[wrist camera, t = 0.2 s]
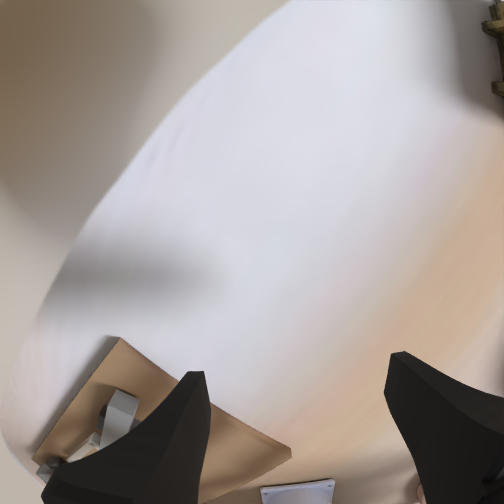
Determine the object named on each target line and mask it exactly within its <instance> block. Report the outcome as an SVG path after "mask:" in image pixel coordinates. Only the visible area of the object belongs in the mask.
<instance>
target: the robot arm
mask: <svg viewBox="0 0 504 504" xmlns="http://www.w3.org/2000/svg"><path fill="white" fill-rule="evenodd" d="M384 395H385V398H386V402H387V405H388V407H389V410H390V413H391V415H392V417H393V419H394V421H395V423H396V425H397V427H398V429H399V431H400V433H401V435H402V437H403V439H404V441H405V443H406V445H407V447H408V449H409V451H410V453H411V455H412V457H413V460H414V462H415V465H416V468H417V471H418V475H419V478H420V481H421V485H422V488H423V492H424V496H425V501H426V504H504V398H503V397H499V396H495V395H492V394H488V393H485V392H482V391H480V390H477V389H475V388H472V387H470V386H467V385H465V384H463V383H461V382H459V381H457V380H455V379H453V378H451V377H449V376H447V375H445V374H443V373H442V372H440V371H438V370H436V369H435V368H433V367H431V366H430V365H428V364H426V363H425V362H423V361H421V360H420V359H418V358H416V357H415V356H413V355H411V354H409V353H407V352H405V351H403V352H397V353H392V354H391V357H390V363H389V368H388V374H387V379H386V384H385V389H384ZM210 425H211V405H210V400H209V395H208V390H207V385H206V380H205V374H204V371H188V372H187V373H186V374H185V375H184V377H183V378H182V379H181V380H180V381H179V383H178V384H177V385H176V386H175V387H174V389H173V390H172V391H171V392H170V393H169V394H168V396H167V397H166V398H165V399H164V400H163V401H162V402H161V403H160V404H159V405H158V407H157V408H156V409H155V410H153V411H152V412H151V413H150V414H149V415H148V416H147V417H146V418H145V419H144V420H143V421H142V422H141V423H140V424H138V425H137V426H136V427H135V428H133V429H132V430H131V431H129V432H128V433H127V434H125V435H124V436H122V437H121V438H119V439H118V440H116V441H114V442H113V443H111V444H110V445H108V446H106V447H104V448H103V449H101V450H99V451H97V452H95V453H93V454H90V455H88V456H86V457H84V458H81V459H79V460H76V461H73V462H70V463H67V464H64V465H61V466H58V467H56V468H55V470H54V471H53V473H52V475H51V477H50V479H49V481H48V482H47V484H46V486H45V488H44V490H43V492H42V494H41V498H42V500H43V502H44V504H198V494H199V484H200V477H201V472H202V468H203V463H204V458H205V454H206V449H207V444H208V439H209V434H210ZM334 486H335V481H334V479H329V480H323V481H316V482H310V483H302V484H294V485H285V486H274V487H263V488H261V489H260V492H261V497H262V502H263V504H331V503H332V498H333V492H334Z"/></svg>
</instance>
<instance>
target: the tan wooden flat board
mask: <svg viewBox="0 0 504 504" xmlns="http://www.w3.org/2000/svg"><path fill="white" fill-rule="evenodd" d="M178 383H179V381H177V380H176V379H175V378H173V377H172V376H170V375H169V374H168V373H166V372H165V371H163V370H162V369H161V368H159V367H158V366H157V365H155V364H154V363H153V362H151V361H150V360H149V359H147V358H146V357H145V356H143V355H142V354H141V353H140V352H138V351H137V350H136V349H134V348H133V347H132V346H131V345H129V344H128V343H127V342H126V341H124V340H123V339H122V338H120V339H119V340H118V342H117V343H116V344H115V345H114V347H113V348H112V349H111V351H110V352H109V353H108V354H107V356H106V357H105V358H104V360H103V361H102V362H101V364H100V365H99V366H98V367H97V369H96V370H95V371H94V373H93V374H92V375H91V377H90V378H89V379H88V381H87V382H86V383H85V385H84V386H83V387H82V389H81V390H80V391H79V393H78V394H77V395H76V397H75V398H74V399H73V401H72V402H71V403H70V405H69V406H68V408H67V409H66V410H65V412H64V413H63V414H62V416H61V417H60V419H59V420H58V421H57V423H56V424H55V426H54V427H53V428H52V430H51V431H50V433H49V434H48V436H47V437H46V438H45V440H44V441H43V443H42V444H41V446H40V447H39V448H38V450H37V451H36V453H35V454H34V456H33V458H32V460H33V461H34V462H36V463H37V464H38V465H40V467H39V469H38V471H37V472H36V475H38V476H39V477H40V478H41V479H42V480H43V481H44V482H45V483H46V484H47V482H48V481H49V479H50V477H51V475H52V473H53V471H54V470H55V468H56V467H58V466H61V465H64V464H67V463H70V462H73V461H76V460H79V459H81V458H84V457H86V456H88V455H90V454H93V453H95V452H97V451H99V450H101V449H103V448H104V447H106V446H108V445H110V444H111V443H113V442H114V441H116V440H118V439H119V438H121V437H122V436H124V435H125V434H127V433H128V432H129V431H131V430H132V429H133V428H135V427H136V426H137V425H138V424H140V423H141V422H142V421H143V420H144V419H145V418H146V417H147V416H148V415H149V414H150V413H151V412H152V411H153V410H155V409H156V408H157V407H158V405H159V404H160V403H161V402H162V401H163V400H164V399H165V398H166V397H167V396H168V394H169V393H170V392H171V391H172V390H173V389H174V387H175V386H176V385H177V384H178ZM210 405H211V425H210V434H209V439H208V444H207V449H206V454H205V458H204V463H203V468H202V472H201V477H200V484H199V494H198V504H204V503H207V502H209V501H211V500H213V499H215V498H218V497H220V496H222V495H224V494H226V493H228V492H230V491H232V490H234V489H236V488H238V487H240V486H242V485H244V484H246V483H248V482H250V481H252V480H254V479H256V478H258V477H259V476H261V475H263V474H265V473H267V472H268V471H270V470H272V469H274V468H275V467H277V466H279V465H280V464H282V463H284V462H285V461H287V460H289V459H290V458H292V455H291V448H289V447H287V446H285V445H283V444H281V443H279V442H277V441H275V440H274V439H272V438H270V437H268V436H266V435H264V434H262V433H261V432H259V431H257V430H255V429H254V428H252V427H250V426H248V425H247V424H245V423H243V422H241V421H240V420H238V419H236V418H235V417H233V416H231V415H230V414H228V413H226V412H225V411H223V410H221V409H220V408H218V407H217V406H215V405H213V404H212V403H210Z"/></svg>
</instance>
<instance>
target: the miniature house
mask: <svg viewBox="0 0 504 504" xmlns="http://www.w3.org/2000/svg"><path fill="white" fill-rule="evenodd" d="M496 3H497V5H496V6H495V5H492V6H490V7H489V9H490V13H491V17H492V21H491V22H487V21H485V22H483V23H481V24H482V29H483V31H484V32H486V33H488V34H490V35H491V36H493V37H495V38H497V43H498V49H499V54H500V60H501V66H502V73H503V81H504V1H501V0H496ZM491 84H492V92H493V93H495V94H497V95H499V96H502V97H504V83H499V82H492V83H491Z"/></svg>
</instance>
